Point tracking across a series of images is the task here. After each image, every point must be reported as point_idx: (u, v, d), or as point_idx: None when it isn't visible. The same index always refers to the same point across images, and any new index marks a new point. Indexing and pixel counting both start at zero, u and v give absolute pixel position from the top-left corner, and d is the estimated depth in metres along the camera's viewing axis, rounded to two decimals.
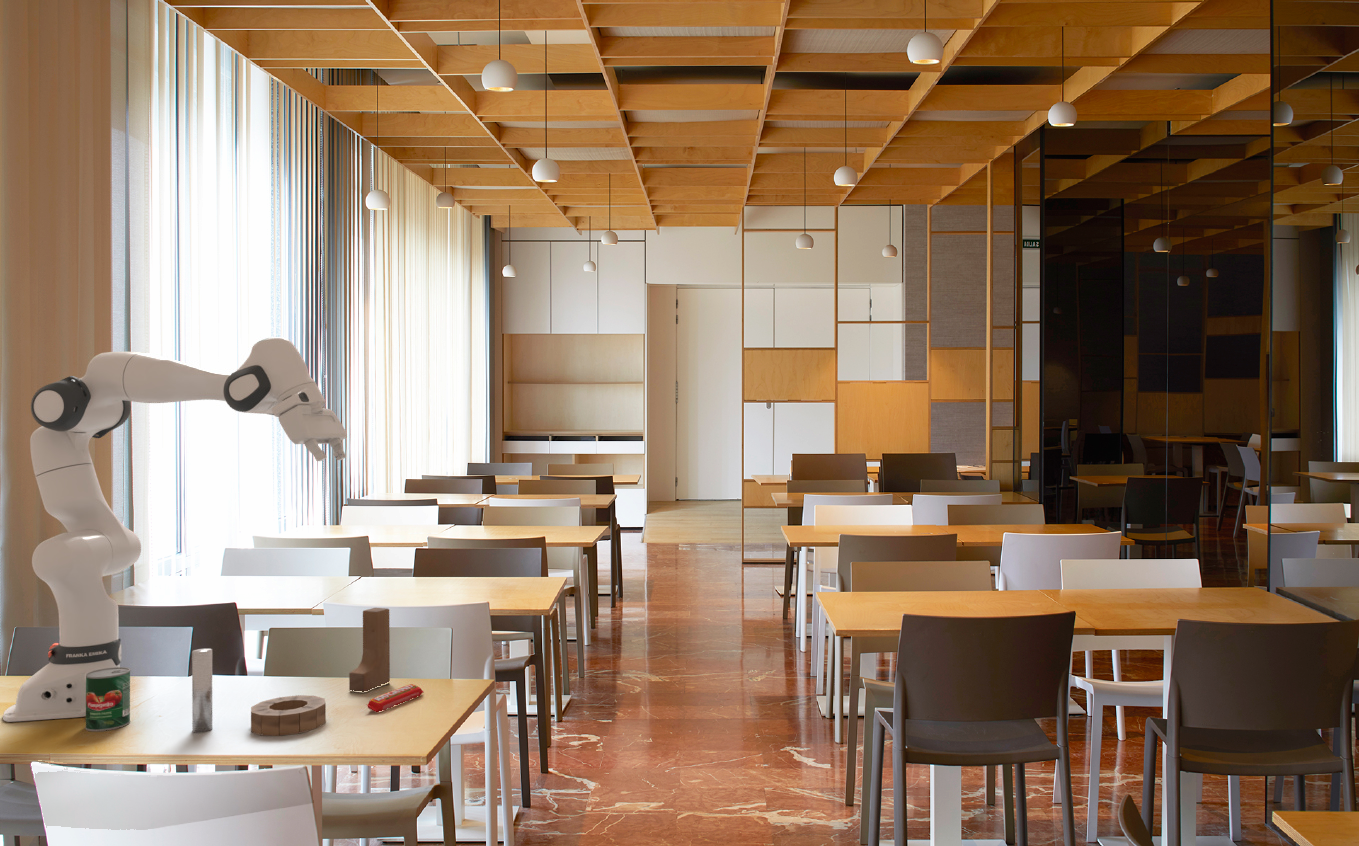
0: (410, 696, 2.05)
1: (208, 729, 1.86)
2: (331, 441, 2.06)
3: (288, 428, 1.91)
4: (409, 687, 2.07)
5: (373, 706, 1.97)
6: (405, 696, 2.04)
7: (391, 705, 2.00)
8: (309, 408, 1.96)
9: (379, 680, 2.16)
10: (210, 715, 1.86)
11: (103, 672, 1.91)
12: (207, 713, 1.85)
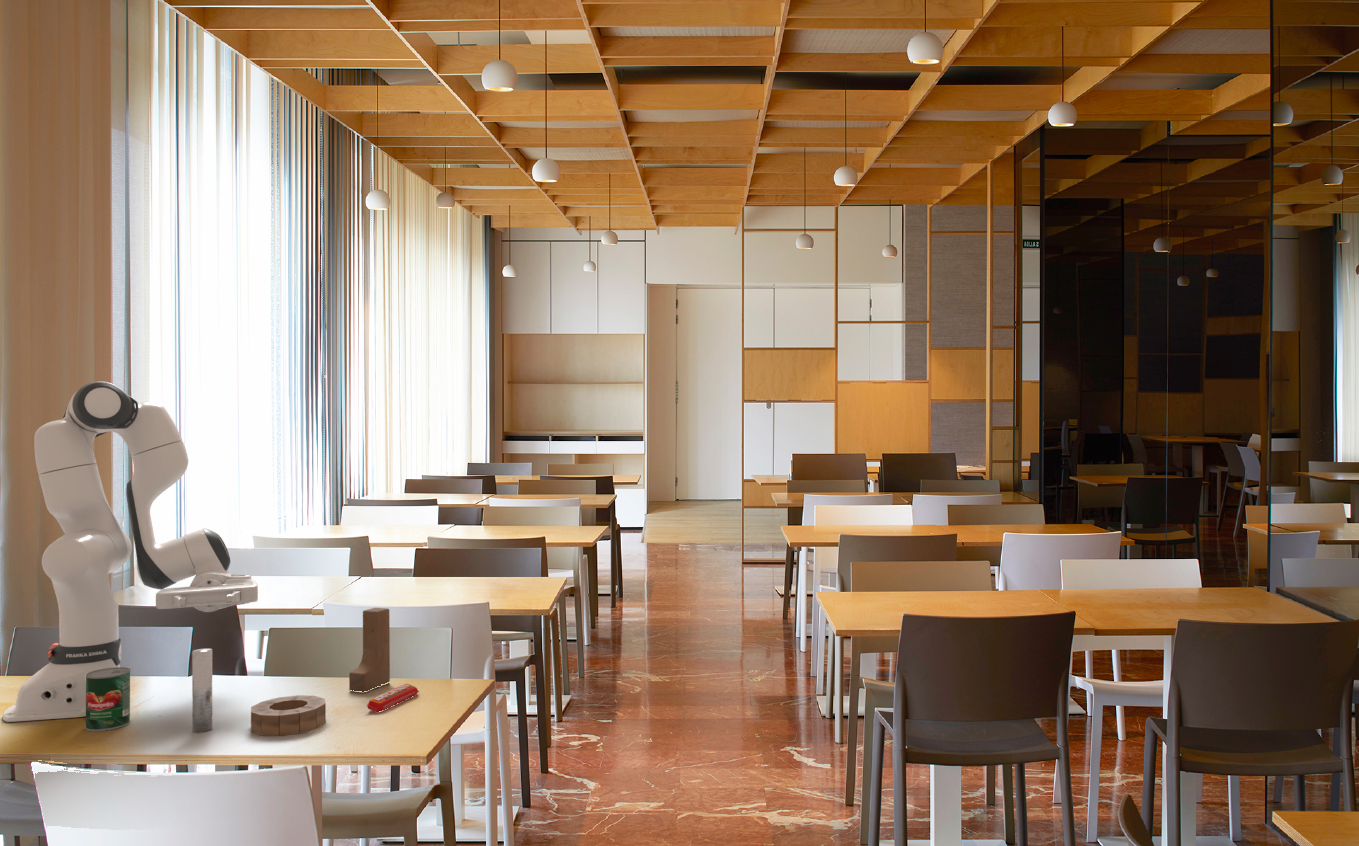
0: (407, 696, 2.06)
1: (208, 729, 1.86)
2: (181, 597, 2.01)
3: None
4: (405, 687, 2.07)
5: (373, 706, 1.97)
6: (402, 696, 2.04)
7: (390, 705, 2.00)
8: (231, 603, 2.10)
9: (379, 680, 2.16)
10: (210, 715, 1.86)
11: (103, 672, 1.91)
12: (207, 713, 1.85)
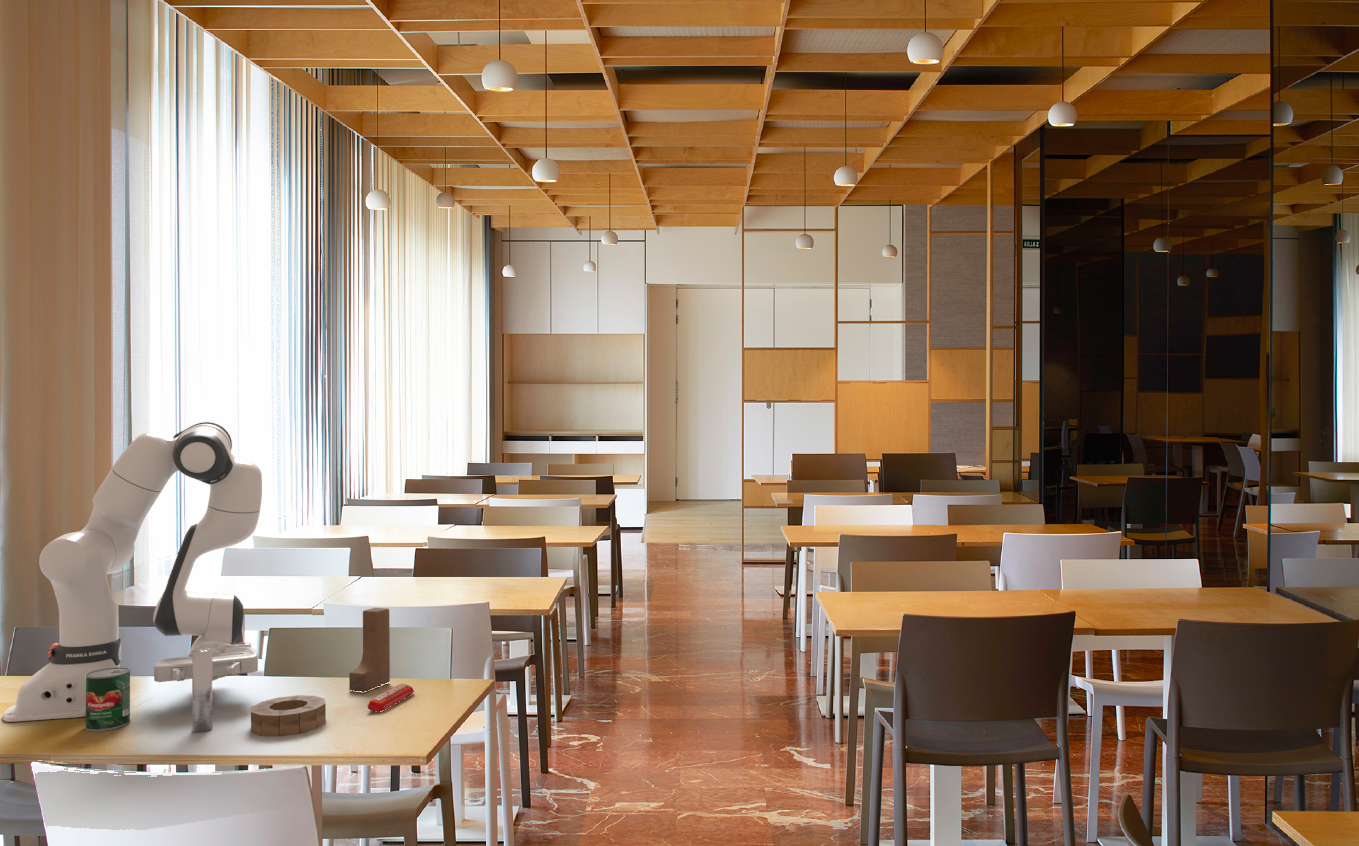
0: (404, 695, 2.06)
1: (208, 729, 1.86)
2: (179, 670, 1.97)
3: None
4: (402, 687, 2.08)
5: (374, 706, 1.97)
6: (400, 695, 2.04)
7: (390, 705, 2.00)
8: None
9: (379, 680, 2.16)
10: (210, 715, 1.86)
11: (103, 672, 1.91)
12: (207, 713, 1.85)
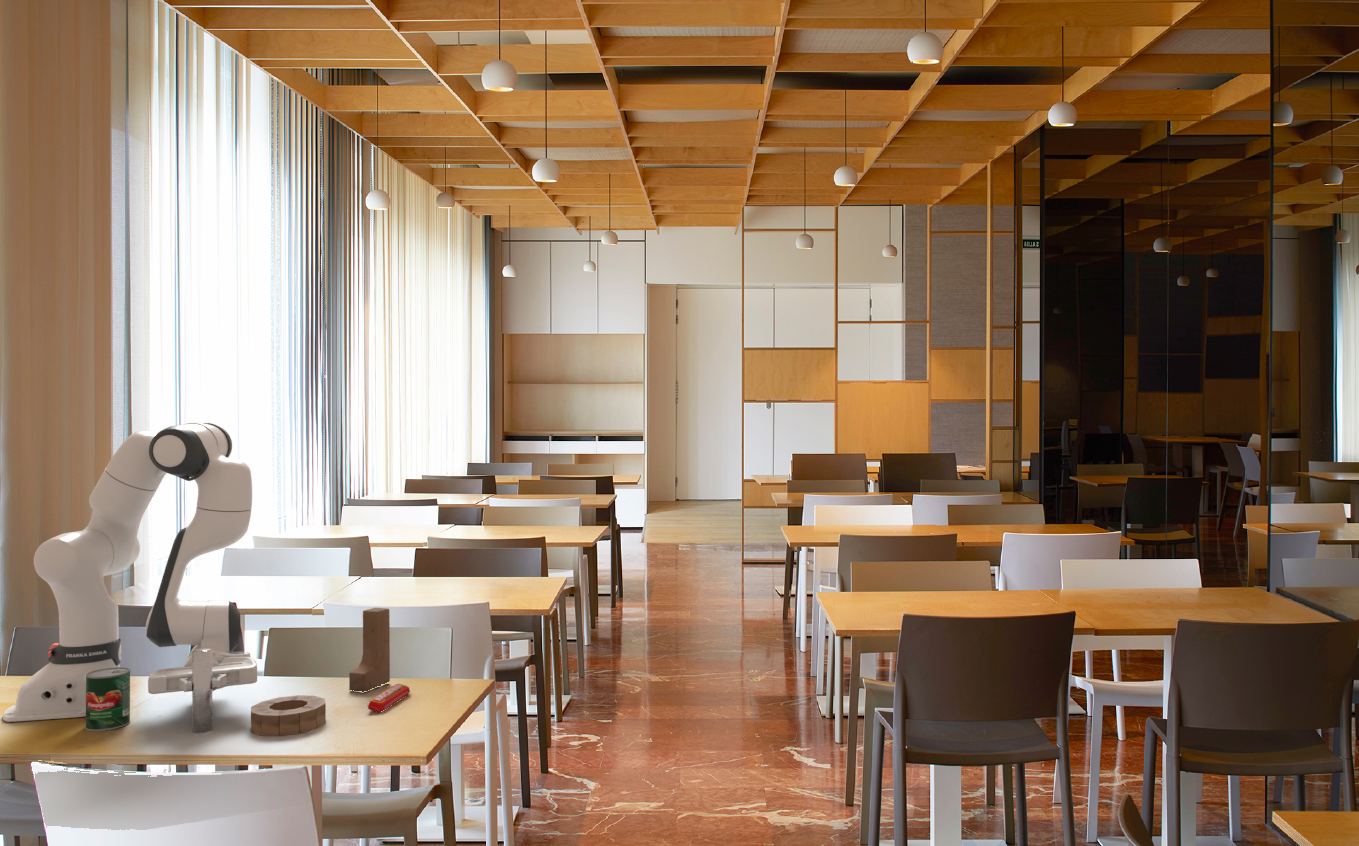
0: (402, 695, 2.06)
1: (208, 729, 1.86)
2: (187, 680, 1.89)
3: None
4: (399, 687, 2.08)
5: (375, 706, 1.97)
6: (399, 695, 2.05)
7: (390, 704, 2.00)
8: None
9: (379, 680, 2.16)
10: (210, 715, 1.86)
11: (103, 672, 1.91)
12: (207, 713, 1.85)
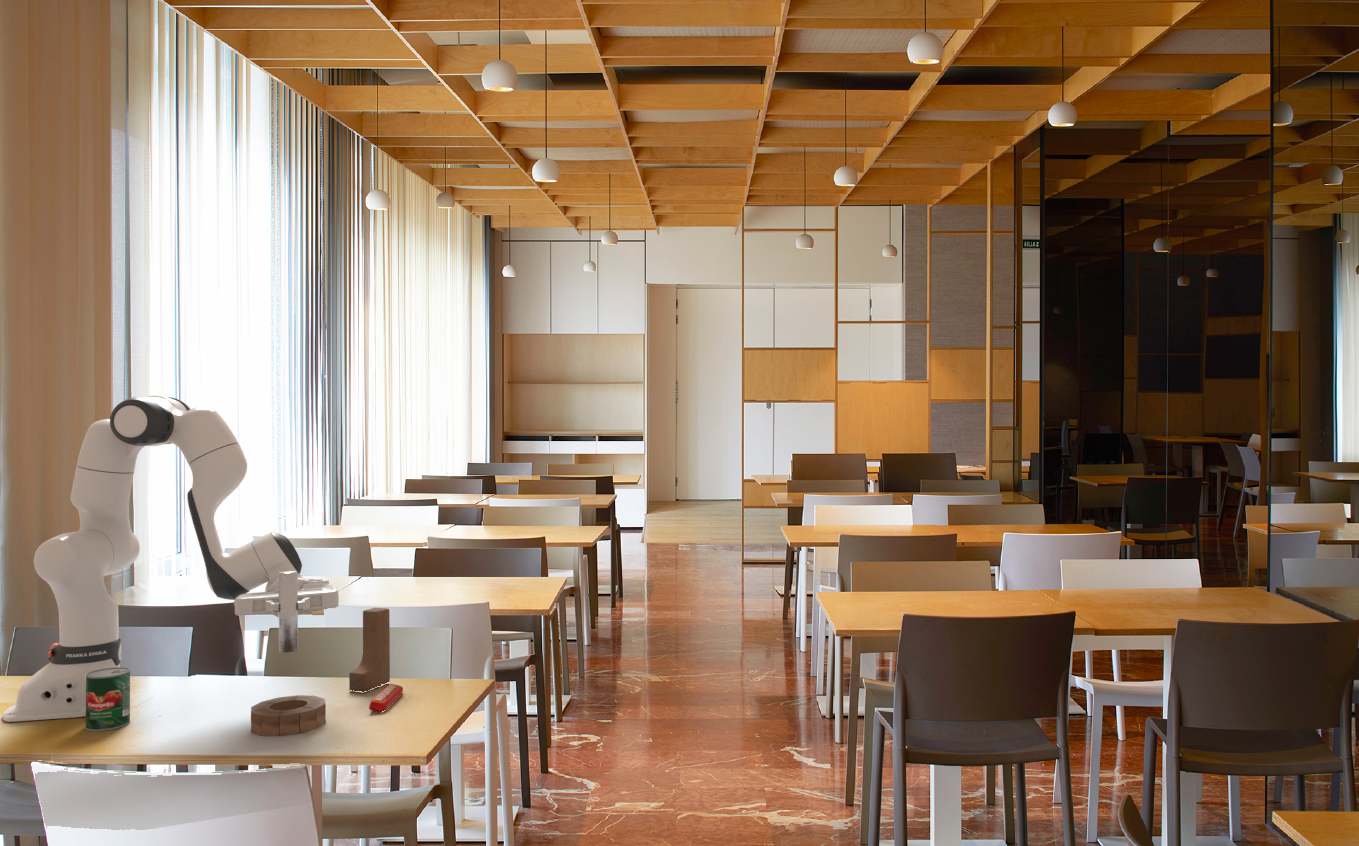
0: (398, 695, 2.07)
1: (294, 649, 1.89)
2: None
3: None
4: (394, 687, 2.08)
5: (377, 706, 1.97)
6: (396, 695, 2.05)
7: (389, 704, 2.01)
8: None
9: (379, 680, 2.16)
10: (296, 636, 1.89)
11: (103, 672, 1.91)
12: (293, 634, 1.88)
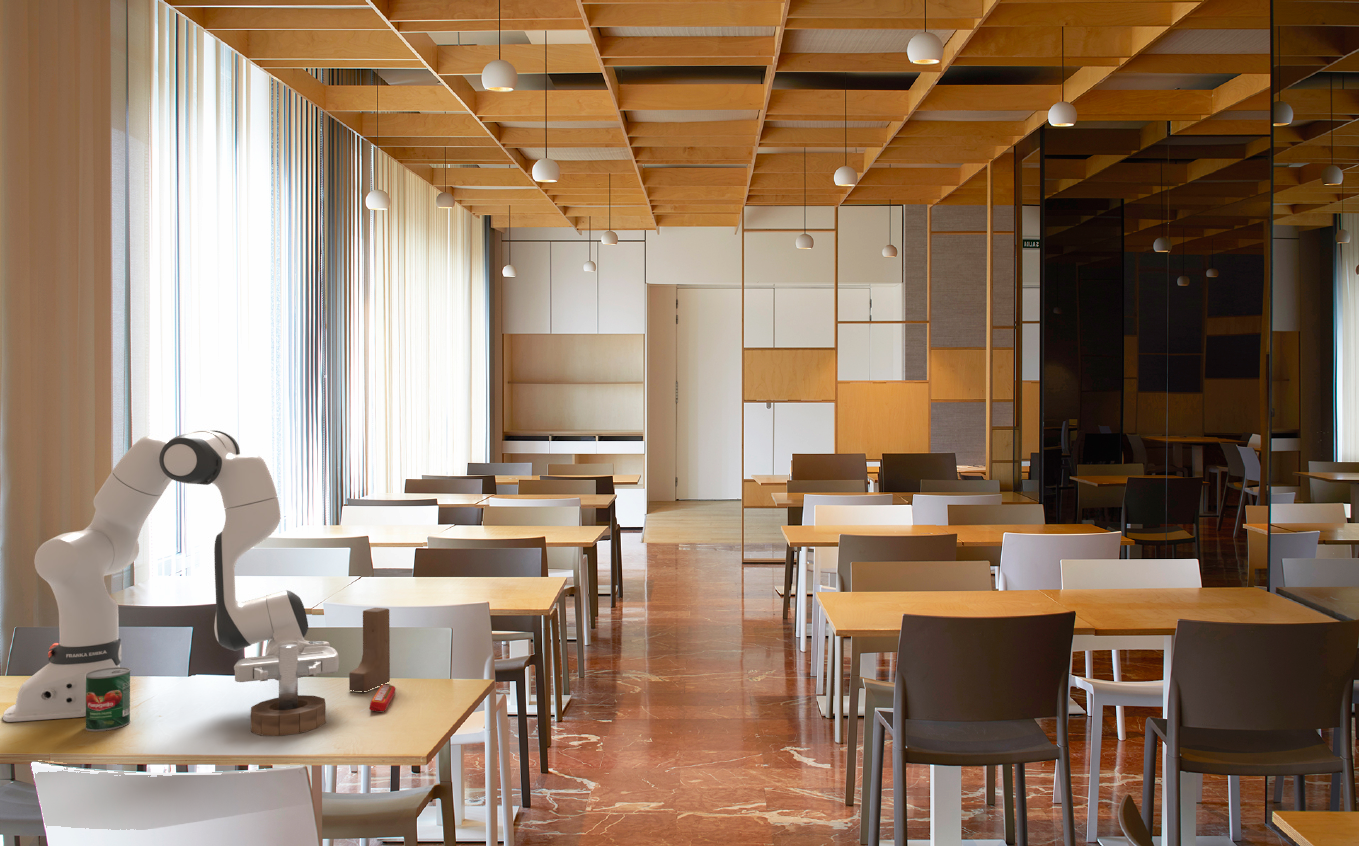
0: (393, 695, 2.07)
1: None
2: (261, 670, 1.91)
3: None
4: (388, 687, 2.08)
5: (378, 706, 1.97)
6: (392, 695, 2.05)
7: (388, 704, 2.01)
8: None
9: (379, 680, 2.16)
10: None
11: (103, 672, 1.91)
12: (293, 708, 1.88)
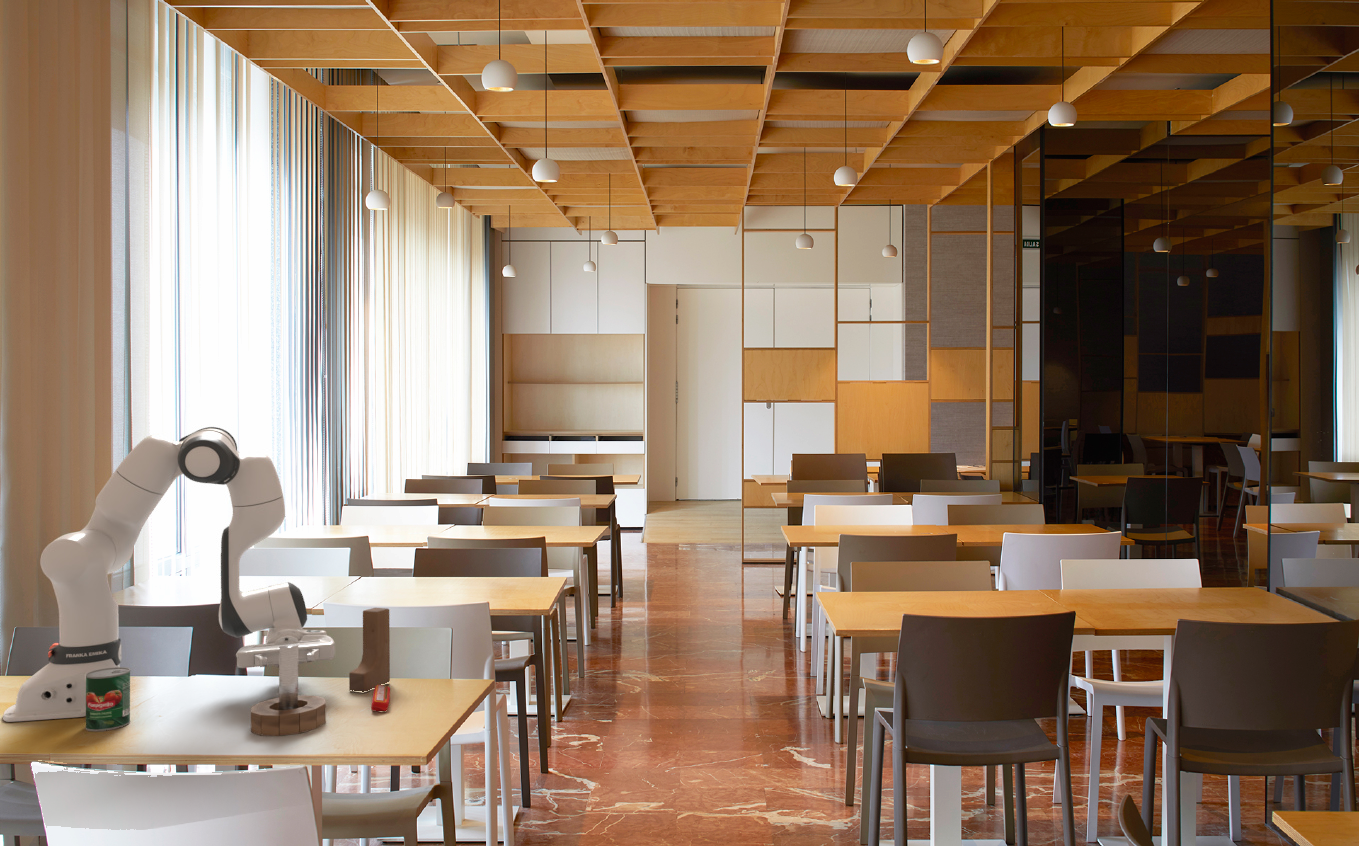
0: None
1: None
2: (261, 656, 2.02)
3: None
4: (383, 687, 2.08)
5: (381, 706, 1.97)
6: (389, 695, 2.05)
7: None
8: None
9: (379, 680, 2.16)
10: None
11: (103, 672, 1.91)
12: (294, 708, 1.88)
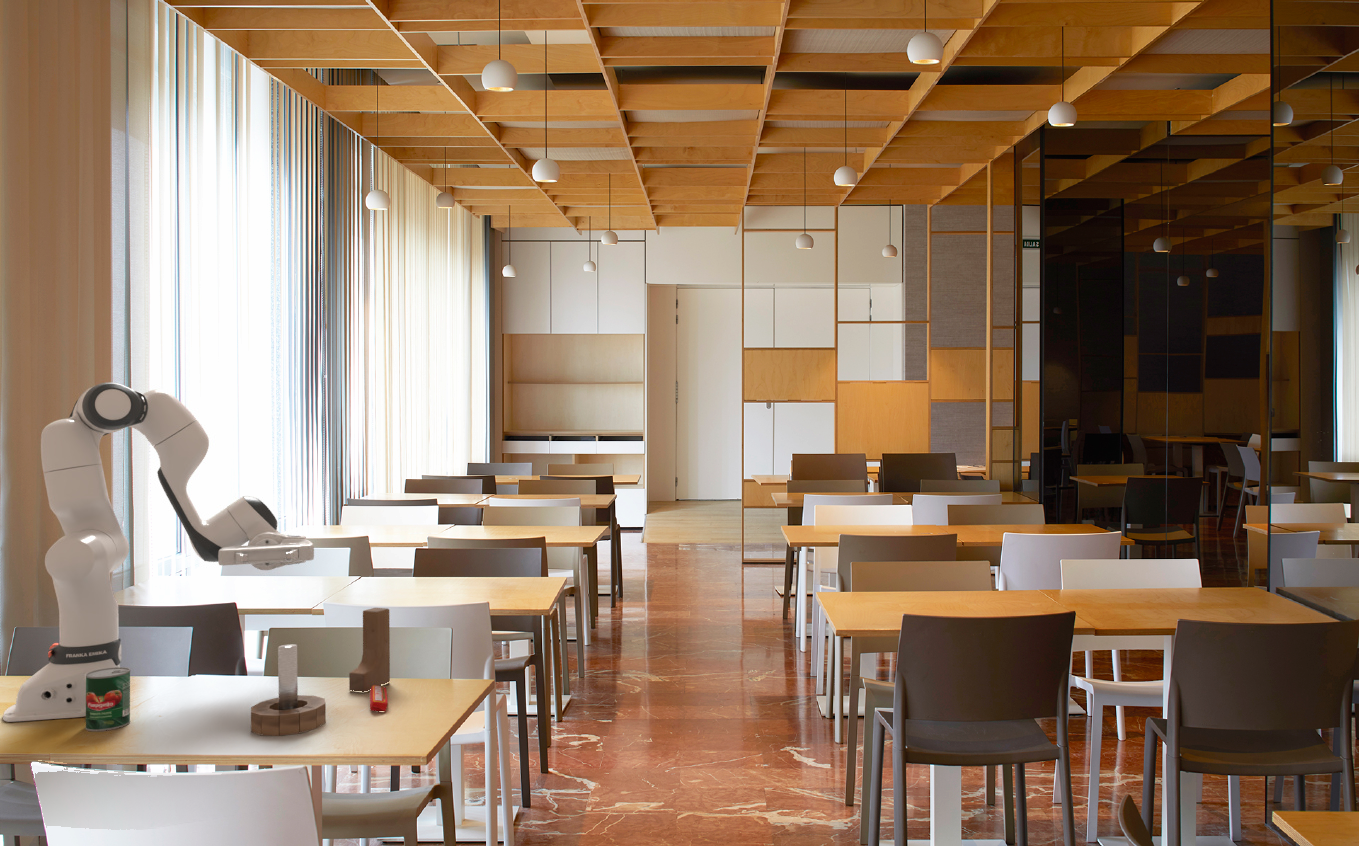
0: None
1: None
2: None
3: None
4: (380, 687, 2.07)
5: (380, 706, 1.97)
6: None
7: None
8: (287, 562, 2.19)
9: (379, 680, 2.16)
10: None
11: (103, 672, 1.91)
12: (293, 708, 1.88)
